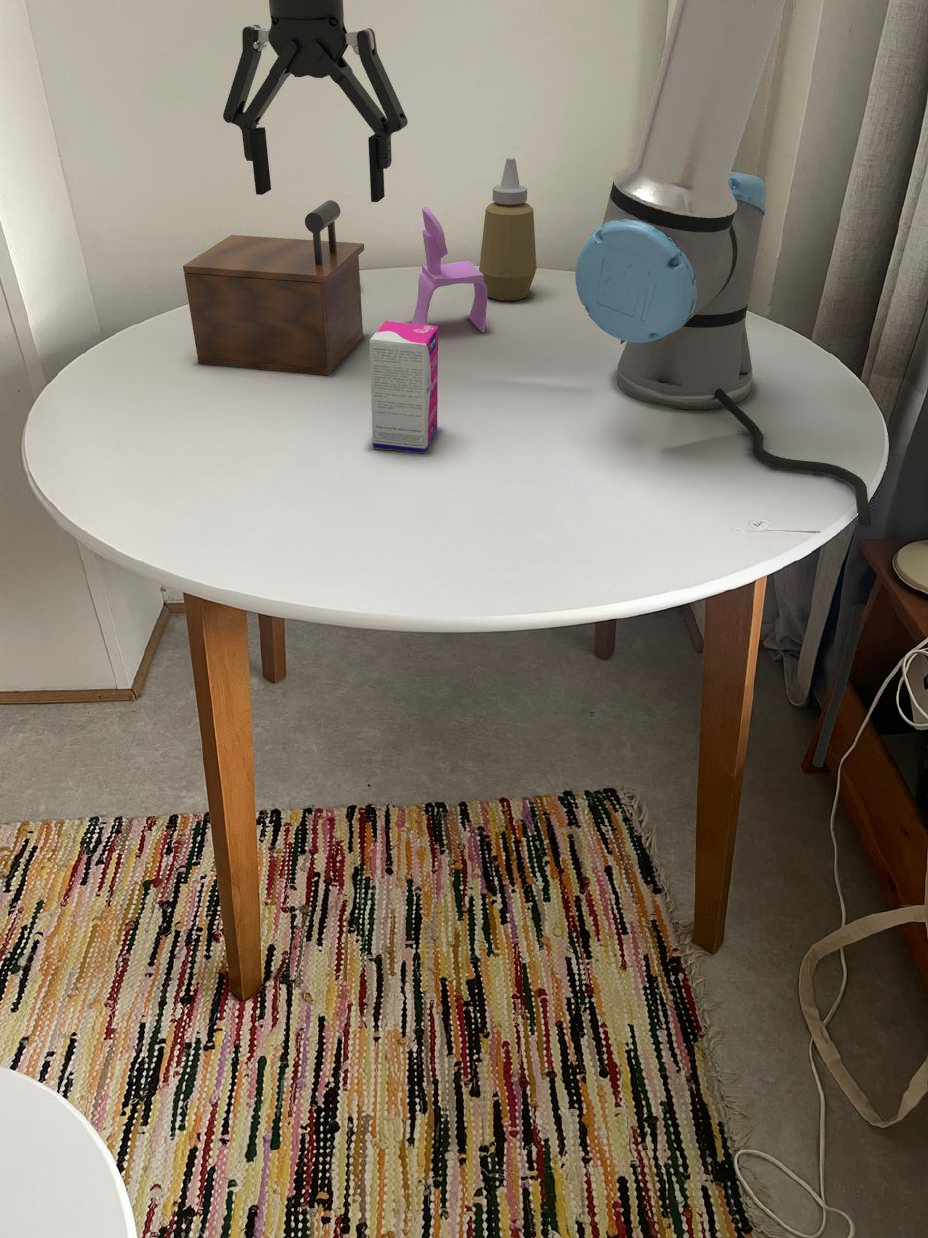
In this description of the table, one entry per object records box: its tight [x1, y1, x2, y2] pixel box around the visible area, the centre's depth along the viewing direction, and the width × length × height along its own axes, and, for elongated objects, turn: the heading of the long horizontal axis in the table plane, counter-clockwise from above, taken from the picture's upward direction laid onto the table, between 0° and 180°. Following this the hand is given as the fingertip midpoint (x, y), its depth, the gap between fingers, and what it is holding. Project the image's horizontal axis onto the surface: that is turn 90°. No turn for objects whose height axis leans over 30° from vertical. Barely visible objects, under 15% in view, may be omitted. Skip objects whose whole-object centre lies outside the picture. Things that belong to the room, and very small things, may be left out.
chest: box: [183, 255, 364, 376], centre depth 121 cm, size 17×14×11 cm
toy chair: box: [410, 207, 488, 333], centre depth 127 cm, size 8×9×15 cm
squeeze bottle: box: [478, 157, 538, 301], centre depth 137 cm, size 8×8×18 cm
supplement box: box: [369, 320, 439, 454], centre depth 100 cm, size 6×6×12 cm
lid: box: [182, 199, 365, 283], centre depth 116 cm, size 17×14×6 cm
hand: (320, 195), depth 113 cm, fingers open, 13 cm apart
